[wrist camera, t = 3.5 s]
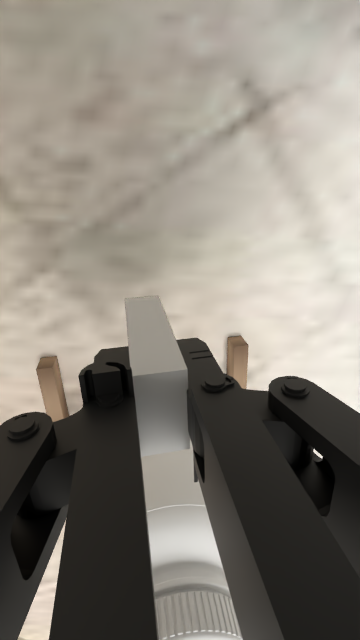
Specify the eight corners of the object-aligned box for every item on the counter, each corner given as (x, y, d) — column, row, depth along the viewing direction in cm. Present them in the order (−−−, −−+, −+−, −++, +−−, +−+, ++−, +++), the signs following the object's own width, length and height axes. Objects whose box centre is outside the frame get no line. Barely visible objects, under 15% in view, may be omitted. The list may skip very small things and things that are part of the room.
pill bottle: (75, 413, 24) (20, 706, 11) (162, 350, 24) (222, 580, 10) (141, 470, 28) (164, 753, 14) (220, 416, 27) (325, 659, 13)
